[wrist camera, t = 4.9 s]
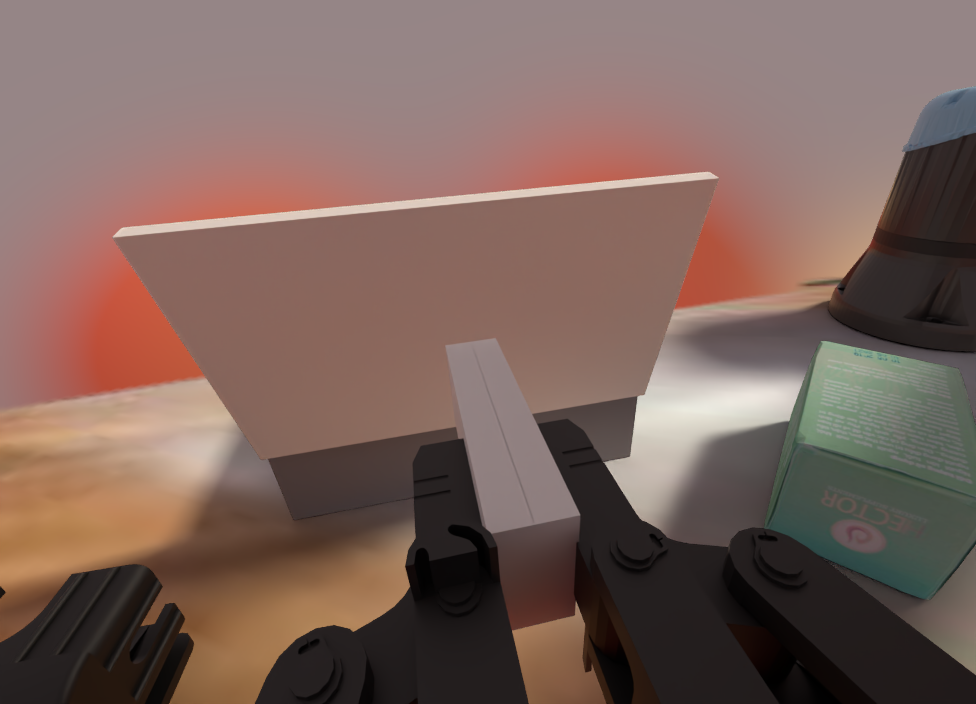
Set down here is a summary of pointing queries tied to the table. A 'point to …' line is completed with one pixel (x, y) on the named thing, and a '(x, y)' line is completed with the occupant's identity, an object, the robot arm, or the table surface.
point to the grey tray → (388, 462)
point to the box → (880, 468)
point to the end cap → (97, 644)
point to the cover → (423, 302)
